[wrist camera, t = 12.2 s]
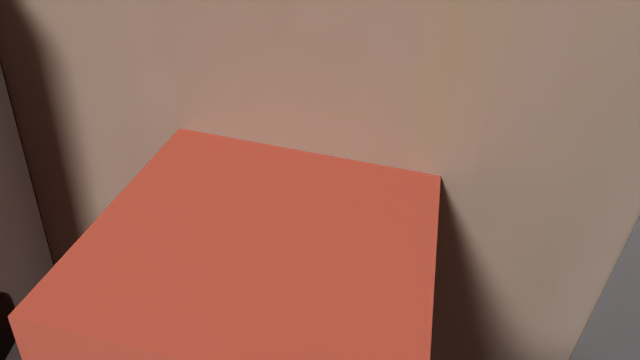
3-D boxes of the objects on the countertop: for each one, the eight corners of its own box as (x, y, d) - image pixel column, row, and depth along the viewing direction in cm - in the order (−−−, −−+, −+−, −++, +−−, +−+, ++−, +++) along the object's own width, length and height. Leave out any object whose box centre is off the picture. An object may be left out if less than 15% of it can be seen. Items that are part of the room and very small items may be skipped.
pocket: (823, 16, 7) (962, 91, 5) (552, 485, 14) (567, 599, 12) (-94, -96, 9) (-251, -72, 7) (50, 365, 16) (-11, 445, 14)
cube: (440, 173, 10) (426, 416, 6) (396, 353, 13) (366, 603, 9) (181, 126, 11) (7, 316, 7) (192, 307, 14) (75, 520, 9)
